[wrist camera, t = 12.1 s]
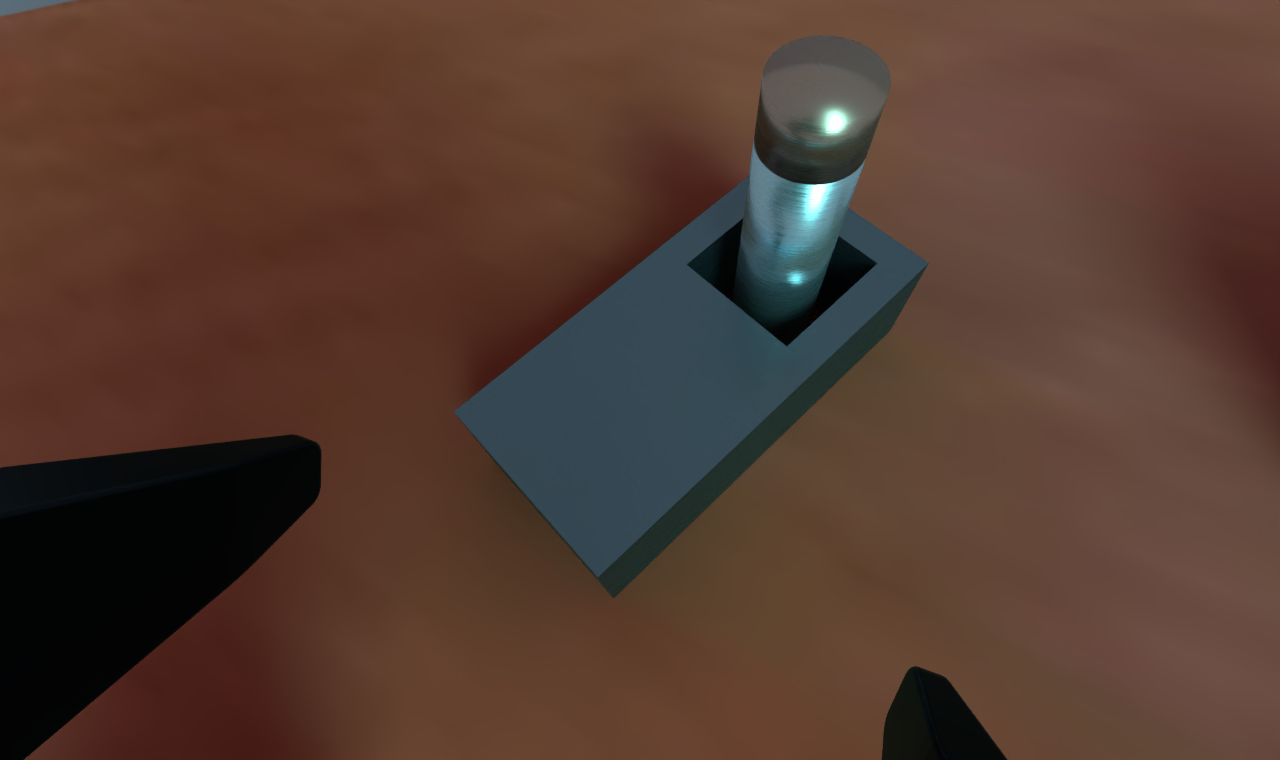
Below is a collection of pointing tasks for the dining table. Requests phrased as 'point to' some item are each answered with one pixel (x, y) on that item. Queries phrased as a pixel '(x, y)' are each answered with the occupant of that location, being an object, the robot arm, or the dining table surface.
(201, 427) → the dining table surface
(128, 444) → the dining table surface
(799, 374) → the bar
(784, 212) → the steel pin
